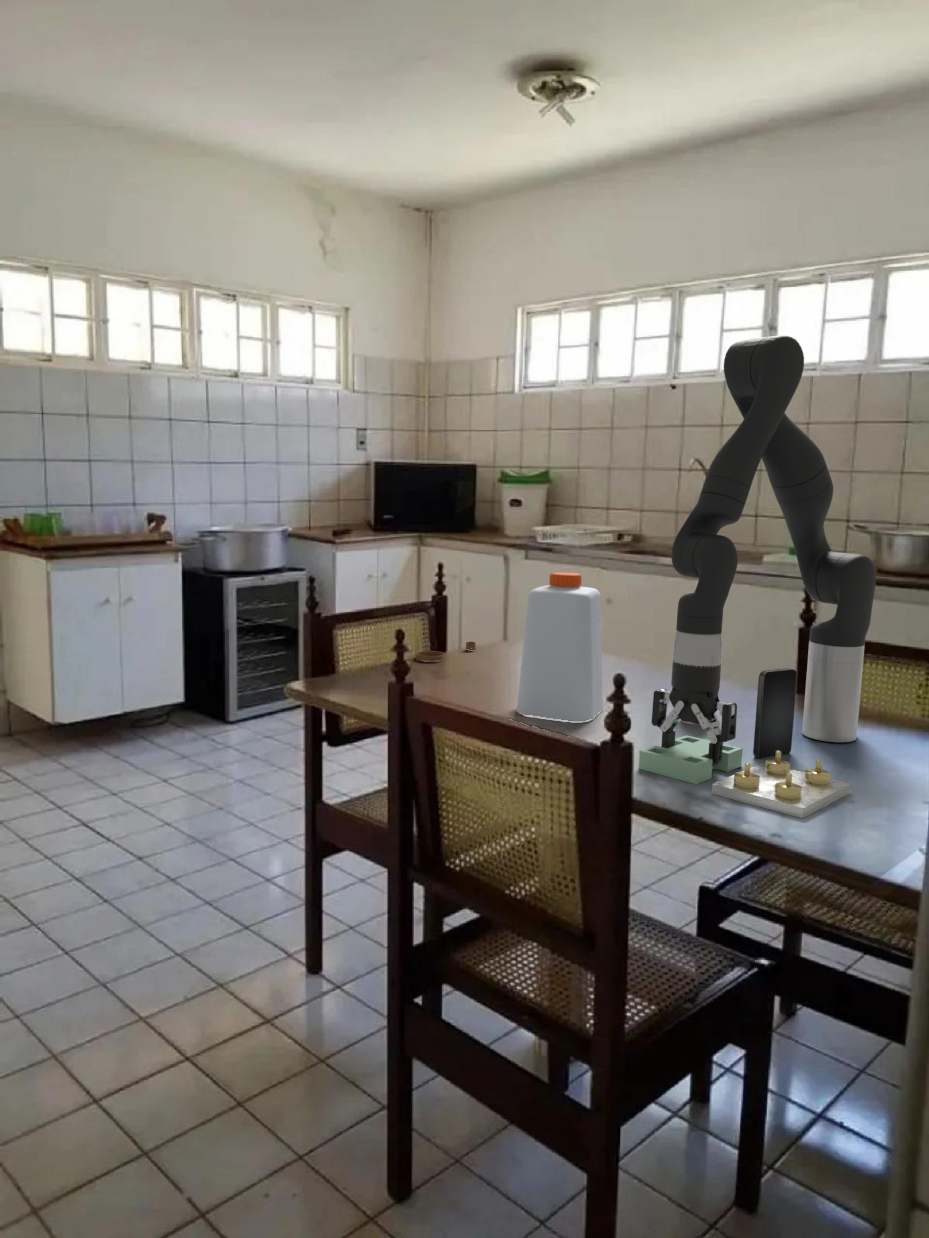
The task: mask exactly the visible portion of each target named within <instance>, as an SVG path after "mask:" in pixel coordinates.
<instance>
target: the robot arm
mask: <svg viewBox="0 0 929 1238" xmlns="http://www.w3.org/2000/svg"><path fill="white" fill-rule="evenodd" d="M804 367H805V356H804V351H803V348H802V346H801V345H800V343H799V342H798V340H797V339H796V338H793V336H792V337H791V336H789V335H773V336H772V335H771V336H763V337H762V336H761V337H756V338H748V339H742V340H739V341H736V342H734V343H732V344H731V345H730V347H729V348H728V349H727V351H726V353H725V355H724V360H723V373H724V378H725V383H726V386H727V388H728V391H729V393H730V395H731V397H732V399H733V401H734V403H735V405H736V407H737V408H738V411H739V413H740V414H741V416H742V418H743V420H742V421H741V423H740V424H739V426H738V427H737V428H736V429H735V431H734V432H733V433H732V435H731V436H730V437H729V438H728V439H727V440H726V442H725V443H724V444H723V445H722V446H721V448H720V449H719V450H718V451H717V453H716V455H715V456H714V458H713V460H711V463H710V465H709V468H708V469H707V472H706V476H705V479H704V482H703V484H702V488H701V491H700V494H699V497H698V501H697V503H696V505H695V506H694V508H693V509H692V510H691V512H690V513H689V515H688V516H687V518H686V520H685V521H684V523H683V525H682V526H681V528H680V529H679V531H678V532H677V535H676V536H675V539H674V540H673V543H672V547H671V553H670V554H671V555H670V556H671V564H672V566H673V569H674V570H675V571H676V572H677V574H680V575H682V576H684V577H687V578H695V579H698V581H697V585H696V587H695V590H694V592H691V593H690V592H689V593H685V594H683V595H681V596H680V598H679V599H678V603H677V612H676V613H677V615H676V628H675V637H674V642H673V651H672V666H671V667H672V668H671V680H670V681H671V682H670V683H671V687H672V688H671V691H669V690H668V689H667V688H661V689H657V690H654V692H653V699H652V712H651V725H653V727H657V728H659V729H660V730H661V745H660V747H664V748H670V747H673V746H675V739H676V731H675V728H676V727H677V725H678V724H680V722H682V721H685V722H686V721H690V722H692V723H694V724H693V725H696V724H700V725H699V726H701V729H702V730H703V731H704V732H705V733H706V734H707V737H708V738H709V739H708V740H709V741H711V743H709V754H708V759H712V766H715V765H717V764H718V763H719V762H721V760H722V749H723V744H724V743H726V742H729V741H732V740H734V739H736V734H737V732H736V731H737V719H738V718H737V716H738V715H737V714H738V705H737V703H736V702H735V701H731V702H723V701H720V699H719V691H720V685H721V676H722V675H721V673H722V658H723V657H722V655H723V639H722V637H723V636H722V635H723V634H722V632H723V630H722V629H723V619H724V617H723V616H724V608H725V604H726V601H727V599H728V597H729V593H730V591H731V586H732V585H733V582H734V578H735V576H736V572H737V569H738V560H739V559H738V558H739V557H738V552H737V548H736V546H735V544H734V542H733V541H732V540H731V539H730V538H729V537H728V536H725V535H722V534H721V535H720V534H718V533H719V532H720V531H721V529H722V528H723V527H726V526H729V525H733V524H735V523H737V522H738V521H739V520H740V519H741V516H742V514H743V511H744V508H745V506H746V502H747V500H748V496H749V494H750V490H751V488H752V484H753V481H754V478H755V475H756V473H757V470H758V467H759V465H760V462H761V461H762V463H763V465H764V467H765V470H766V474H767V476H768V480H769V483H770V485H771V489H772V490H773V493H774V496H775V499H776V501H777V503H778V506H779V507H780V510H781V513H782V515H783V518H784V521H785V524H786V526H787V529H788V532H789V535H790V539H791V541H792V544H793V545H792V546H793V547H794V553H795V556H796V561H797V563H798V568H799V572H800V577H801V579H802V583H803V586H804V588H805V591H806V592H807V594H808V595H809V597H810V598H811V599H812V600H814V601H816V602H819V603H823V604H829V605H837V606H836V610H835V613H834V616H833V617H832V618H831V619H829V620H825V621H821V622H817V623H815V624H813V625H812V626H811V628H810V630H809V641H808V654H807V667H806V668H807V669H806V676H805V677H806V678H805V679H806V680H805V691H804V692H805V693H804V703H803V704H804V705H803V715H802V716H803V718H802V729H801V730H802V731H801V733H802V735H803V736H805V737H807V738H810V739H813V740H818V741H822V742H823V741H824V742H829V743H830V742H831V743H850V742H853V741H856V739H857V736H858V733H857V732H858V723H859V713H860V703H861V702H860V701H861V689H862V680H863V679H862V677H863V668H864V667H863V666H864V657H865V655H864V653H865V644H866V636H867V634H868V631H869V628H870V624H871V619H872V609H873V604H874V598H875V591H876V584H877V583H876V582H877V579H876V578H877V575H876V568H875V564H874V562H873V560H872V559H871V558H870V557H869V556H867V555H863V554H861V553H860V554H859V553H849V552H847V553H846V552H836V551H834V550H833V549H831V547H830V545H829V542H828V540H827V537H826V533H825V528H824V527H825V520H826V518H827V515H828V513H829V510H830V507H831V504H832V500H833V495H834V484H833V480H832V477H831V474H830V471H829V468H828V465H827V462H826V459H825V457H824V455H823V453H822V451H821V449H820V448H819V446H818V445H817V444H816V443H815V442H814V441H813V440H812V439H811V438H810V437H809V436H808V435H807V434H806V432H804V431H803V430H802V429H801V428H800V427H799V426H797V424H796V423H794V421H793V420H791V419H790V417H789V416H788V415H787V414H786V411H787V408H788V407H789V406H790V405H789V404H790V403H791V401H792V400H793V397H794V395H795V393H796V391H797V389H798V387H799V385H800V382H801V379H802V376H803V373H804ZM669 702H670V703H671V705H672V708H673V709H672V710H671V711H670V712H669V714H668V715H667V712H668V711H667V709H668V703H669ZM717 711H719V715H720V716H721V722H720V721H719V718H718V717H717V715H716V712H717ZM708 720H709V721H710V723H709V722H708ZM685 722H684V723H685Z"/></svg>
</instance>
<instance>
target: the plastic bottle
mask: <svg viewBox="0 0 929 1238" xmlns="http://www.w3.org/2000/svg"><path fill="white" fill-rule="evenodd" d="M601 604H602V603H601V593H600V591H599V590H598V589H597V588H594V587H587V586H582V575H581V574H580V573H577V572H566V571H565V572H564V571H562V572H561V571H559V572H558V571H557V572H556V571H555V572H551V573H550V574H549V585H542V586H538V587H535V588H533V589H532V590H530V592H529V593H528V599H527V606H526V607H527V608H526V615H525V616H526V617H525V618H526V619H525V625H524V626H525V627H524V636H523V645H522V653H521V654H522V655H521V666H520V675H519V684H518V692H517V693H518V694H517V703H516V712H517V711H518V712H521V713H523V714H525V715H533V716H540V717H546V718H553V719H561V720H568V721H586V720H589V719H593V718H594V716H595V715H597V714H598V712H600V711H601V710H602V709H603V710H604V696H603V695H604V694H603V689H604V688H603V687H604V686H603V655H602V654H603V652H602V650H603V647H602V610H601V609H602V608H601V606H602V605H601Z"/></svg>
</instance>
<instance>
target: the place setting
mask: <svg viewBox="0 0 929 1238" xmlns="http://www.w3.org/2000/svg"><path fill="white" fill-rule="evenodd" d="M476 644H477V643H476V642H475V641H466V642H465V650H466V649H469V650H475V651H476V649H477V647H476V646H477V645H476ZM471 648H472V649H471ZM444 658H445V659H446V654H445V653H444V652H443V651H436V650H435V651H434V650H422V651H421V650H420V651H417V652H416V653H415V661H417V662H419V661H418V660H429V661H435V660H442V659H444Z"/></svg>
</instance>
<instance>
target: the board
mask: <svg viewBox="0 0 929 1238" xmlns="http://www.w3.org/2000/svg"><path fill="white" fill-rule="evenodd" d="M709 743H711V741H710V739H703V738H699V737H697V736H696V737H695V736H690V735H684V736H680V737H678V738H675V746H673V747H670V748H664V747H661V745H660V746H659V745H653V746H650V747H646V748H644V749H641V750H639V756H638V757H639V759H638V760H639V761H638V769H640V770H642V771H646V772H650V773H654V774H657V775H661V776H664V777H668V778H671V779H676V780H679V781H682V782H686V783H689V784H693V785H698V784H700V783H703V782H705V781H707V780H711V779H712V776H713V775H712V773H713V772H712V771H713V770H718V771H723V772H727V773H728V772H731V771H733V770H735V769H737V768H740V767H742V762H743V761H742V759H743V748H742V747H738V746H733V745H731V744H730V745H729V744H726V743H725V744H724V743H723V749H722V760H721V762H719V763H718V764H717V765H715V766H712V759H708V754H709Z"/></svg>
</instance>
